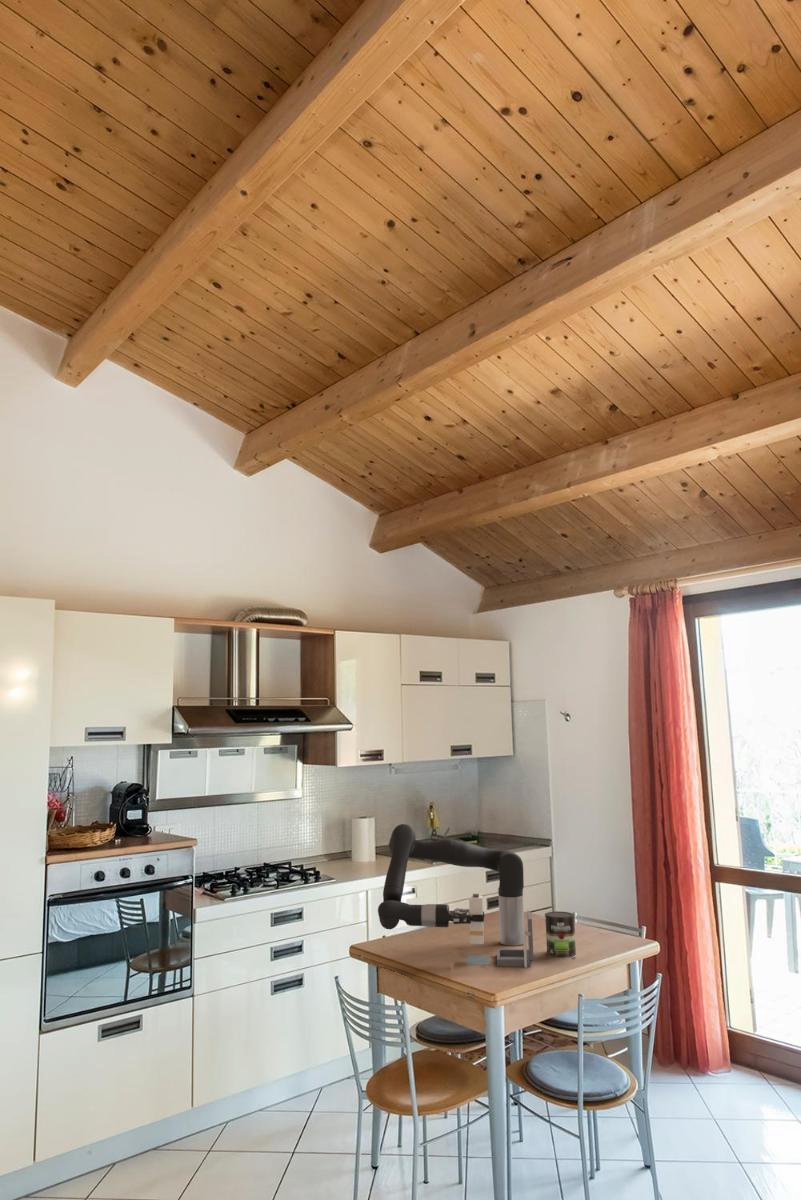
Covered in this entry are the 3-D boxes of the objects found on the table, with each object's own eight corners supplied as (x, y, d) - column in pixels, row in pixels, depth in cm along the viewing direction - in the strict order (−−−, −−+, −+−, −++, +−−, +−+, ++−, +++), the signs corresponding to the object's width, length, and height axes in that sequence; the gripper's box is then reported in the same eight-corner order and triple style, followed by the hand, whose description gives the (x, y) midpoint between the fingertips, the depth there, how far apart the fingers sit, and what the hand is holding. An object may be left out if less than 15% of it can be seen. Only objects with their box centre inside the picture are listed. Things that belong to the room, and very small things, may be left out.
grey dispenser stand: (497, 958, 287) (495, 910, 290) (532, 958, 286) (530, 910, 288) (497, 970, 272) (495, 919, 275) (534, 970, 271) (531, 920, 273)
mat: (467, 958, 287) (467, 955, 288) (490, 958, 287) (490, 955, 287) (465, 967, 276) (465, 964, 276) (489, 968, 275) (489, 965, 275)
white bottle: (470, 940, 285) (469, 892, 288) (483, 940, 284) (482, 893, 287) (469, 943, 280) (469, 895, 283) (483, 944, 280) (482, 895, 282)
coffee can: (577, 960, 283) (575, 917, 285) (547, 959, 284) (545, 917, 287) (575, 952, 293) (573, 911, 295) (546, 952, 294) (544, 911, 297)
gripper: (433, 908, 279) (483, 909, 277) (436, 900, 293) (484, 901, 291) (433, 931, 278) (483, 932, 276) (437, 922, 292) (484, 923, 290)
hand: (483, 916), depth 283 cm, fingers closed on white bottle, 5 cm apart
